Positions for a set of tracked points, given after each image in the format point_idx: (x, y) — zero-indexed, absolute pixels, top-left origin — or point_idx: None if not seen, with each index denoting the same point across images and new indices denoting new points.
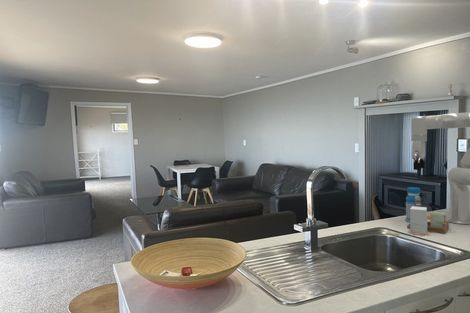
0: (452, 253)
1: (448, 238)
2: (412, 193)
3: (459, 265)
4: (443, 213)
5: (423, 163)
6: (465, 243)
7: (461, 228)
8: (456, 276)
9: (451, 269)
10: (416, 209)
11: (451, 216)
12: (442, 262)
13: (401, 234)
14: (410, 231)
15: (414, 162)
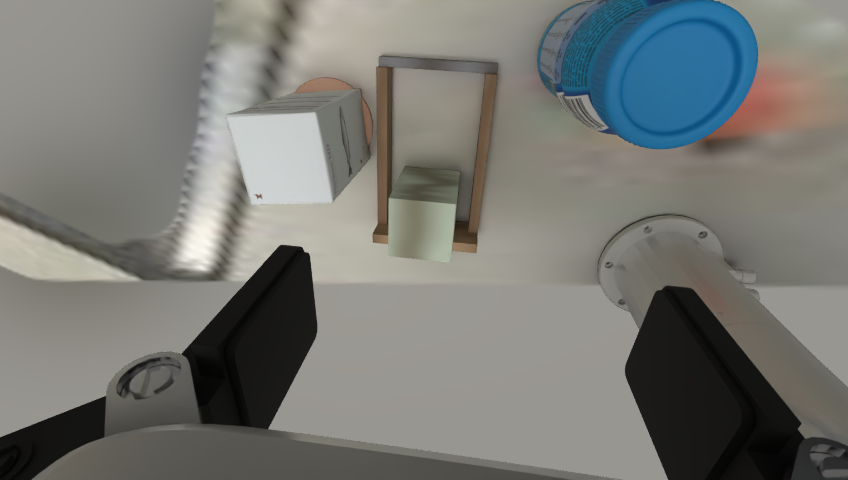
0: (163, 252)
1: (324, 236)
2: (591, 74)
3: (82, 269)
4: (440, 253)
5: (662, 453)
6: None
7: (515, 271)
8: (6, 264)
9: (37, 254)
10: (237, 155)
11: (646, 249)
12: (64, 233)
13: (251, 55)
14: (308, 89)
15: (160, 369)
